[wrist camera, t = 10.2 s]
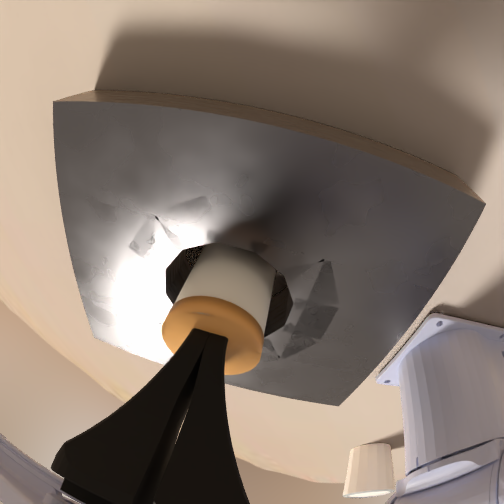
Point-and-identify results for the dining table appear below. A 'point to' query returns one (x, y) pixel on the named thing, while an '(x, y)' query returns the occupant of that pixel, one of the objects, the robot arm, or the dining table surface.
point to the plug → (224, 304)
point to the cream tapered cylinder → (369, 471)
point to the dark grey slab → (254, 228)
